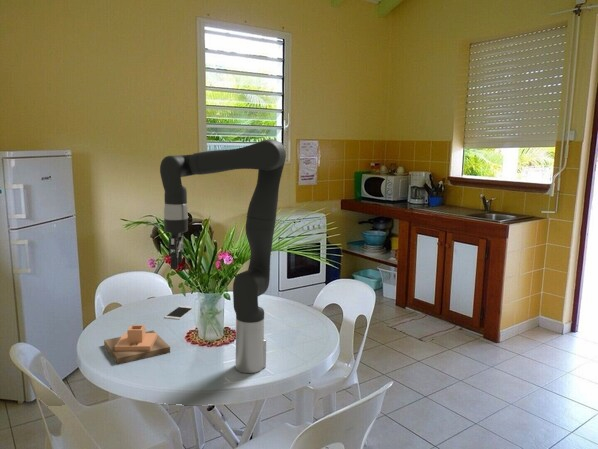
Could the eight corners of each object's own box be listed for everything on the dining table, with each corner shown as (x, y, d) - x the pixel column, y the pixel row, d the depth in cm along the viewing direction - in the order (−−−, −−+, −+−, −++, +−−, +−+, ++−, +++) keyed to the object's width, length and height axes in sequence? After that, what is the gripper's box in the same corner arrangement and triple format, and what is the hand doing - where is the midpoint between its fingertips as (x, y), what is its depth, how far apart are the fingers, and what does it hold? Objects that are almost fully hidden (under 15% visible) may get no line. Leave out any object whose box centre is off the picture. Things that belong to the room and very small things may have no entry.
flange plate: (124, 337, 175) (123, 321, 174) (157, 336, 176) (157, 321, 175) (114, 350, 163) (114, 334, 162) (150, 350, 164) (150, 333, 163)
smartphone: (194, 308, 215) (194, 306, 214) (179, 320, 200) (179, 318, 199) (180, 307, 216) (180, 305, 216) (163, 318, 201) (163, 316, 201)
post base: (153, 335, 182) (153, 319, 181) (170, 352, 168) (170, 334, 167) (104, 345, 172) (103, 328, 171) (117, 364, 157) (117, 345, 156)
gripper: (184, 220, 148) (184, 271, 150) (190, 214, 162) (190, 260, 164) (159, 220, 147) (160, 271, 150) (168, 214, 161) (168, 260, 164)
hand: (176, 265), depth 157 cm, fingers open, 8 cm apart
